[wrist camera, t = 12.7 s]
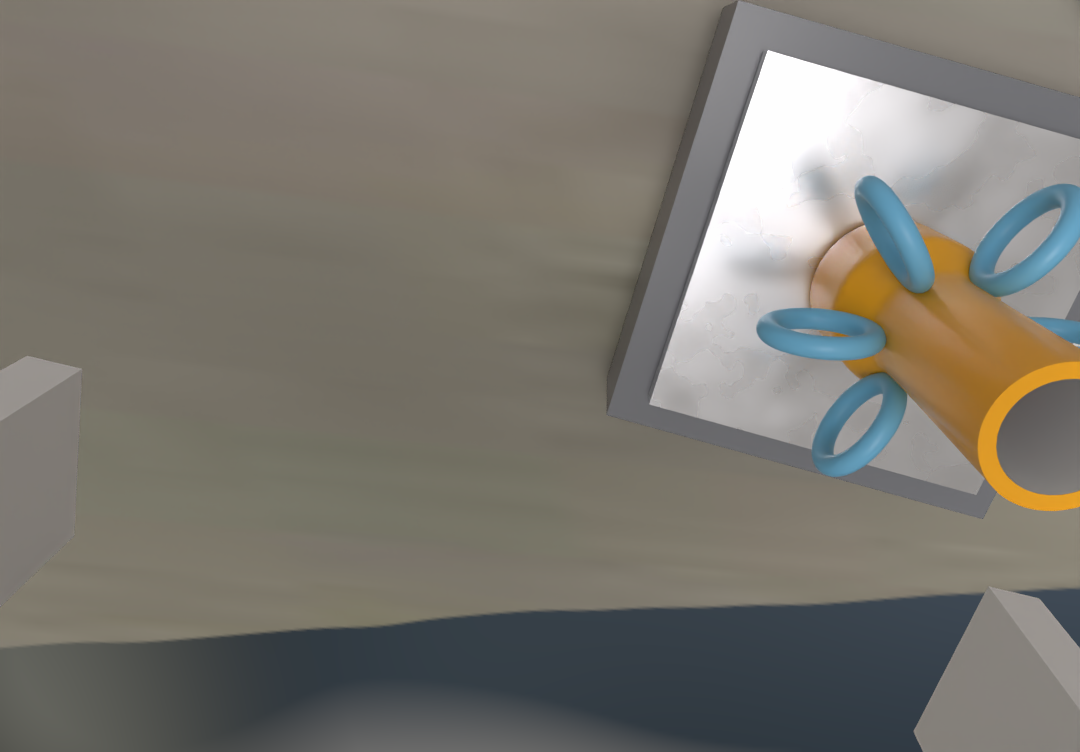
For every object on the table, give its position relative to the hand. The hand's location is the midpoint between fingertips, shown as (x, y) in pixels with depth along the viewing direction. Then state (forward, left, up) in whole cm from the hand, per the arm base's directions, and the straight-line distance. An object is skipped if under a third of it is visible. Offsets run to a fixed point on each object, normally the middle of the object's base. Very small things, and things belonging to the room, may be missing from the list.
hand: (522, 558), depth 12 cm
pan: (+12, +1, -30) cm, 32 cm away
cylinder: (+13, +1, -25) cm, 28 cm away
